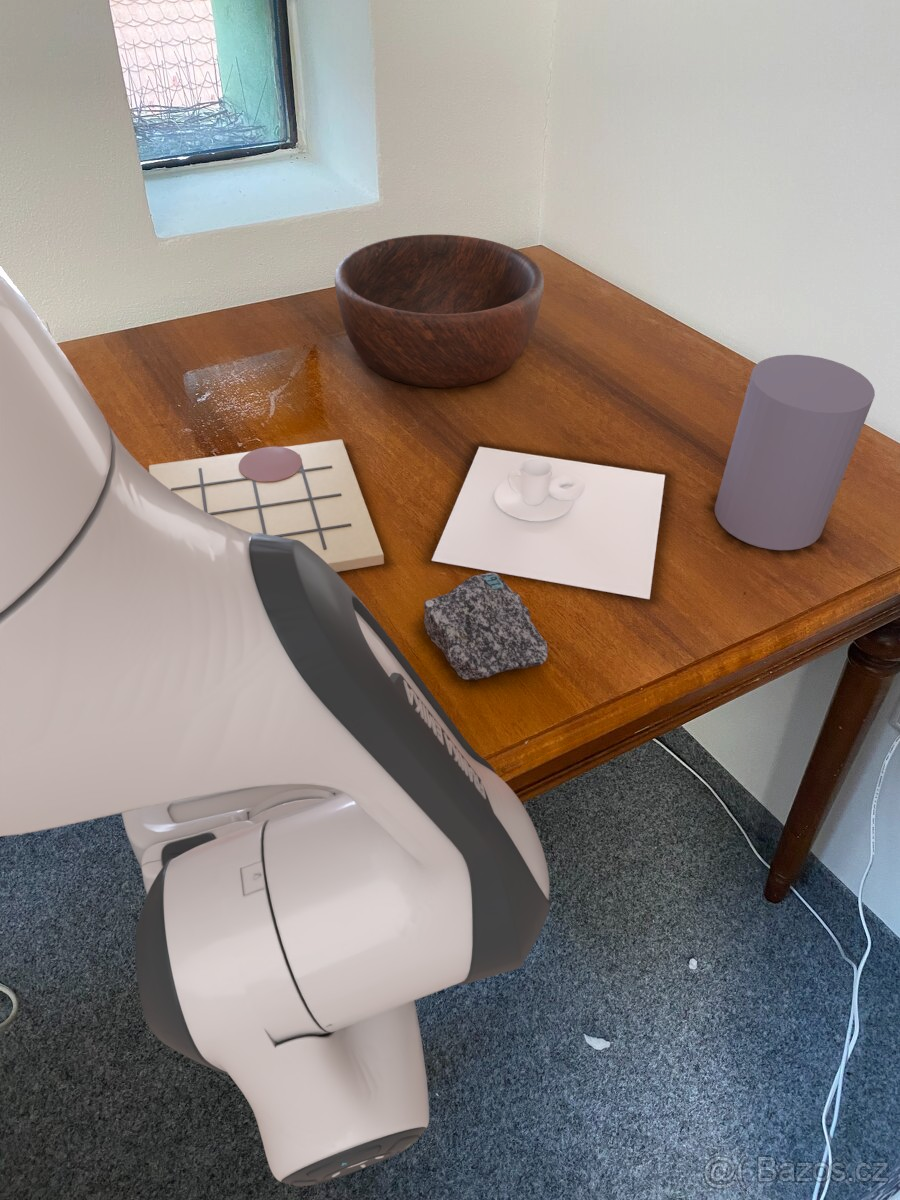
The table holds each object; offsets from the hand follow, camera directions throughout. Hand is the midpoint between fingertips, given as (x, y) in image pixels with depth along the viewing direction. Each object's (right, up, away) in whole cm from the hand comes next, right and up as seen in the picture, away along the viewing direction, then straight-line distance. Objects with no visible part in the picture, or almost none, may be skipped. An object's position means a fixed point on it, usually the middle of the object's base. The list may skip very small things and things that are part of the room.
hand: (271, 695), depth 61 cm
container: (+44, +14, +25) cm, 53 cm away
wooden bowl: (+11, +38, +50) cm, 64 cm away
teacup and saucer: (+23, +15, +25) cm, 37 cm away
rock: (+16, +3, +12) cm, 20 cm away
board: (-6, +15, +24) cm, 29 cm away
